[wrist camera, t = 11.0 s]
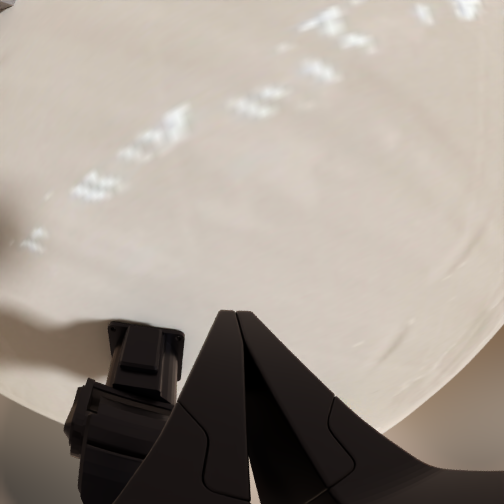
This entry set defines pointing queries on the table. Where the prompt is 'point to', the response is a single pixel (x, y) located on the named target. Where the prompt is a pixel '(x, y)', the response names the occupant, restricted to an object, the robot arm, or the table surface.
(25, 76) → the table surface
